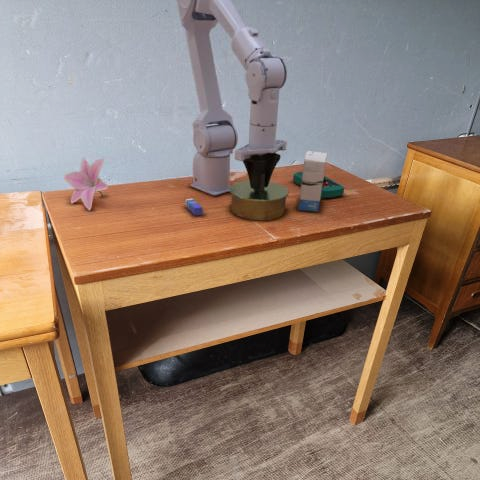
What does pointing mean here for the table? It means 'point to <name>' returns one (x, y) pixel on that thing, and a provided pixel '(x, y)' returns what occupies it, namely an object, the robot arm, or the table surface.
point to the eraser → (193, 207)
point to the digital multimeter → (328, 187)
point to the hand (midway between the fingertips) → (259, 187)
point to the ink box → (312, 181)
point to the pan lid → (259, 191)
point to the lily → (86, 182)
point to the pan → (258, 209)
